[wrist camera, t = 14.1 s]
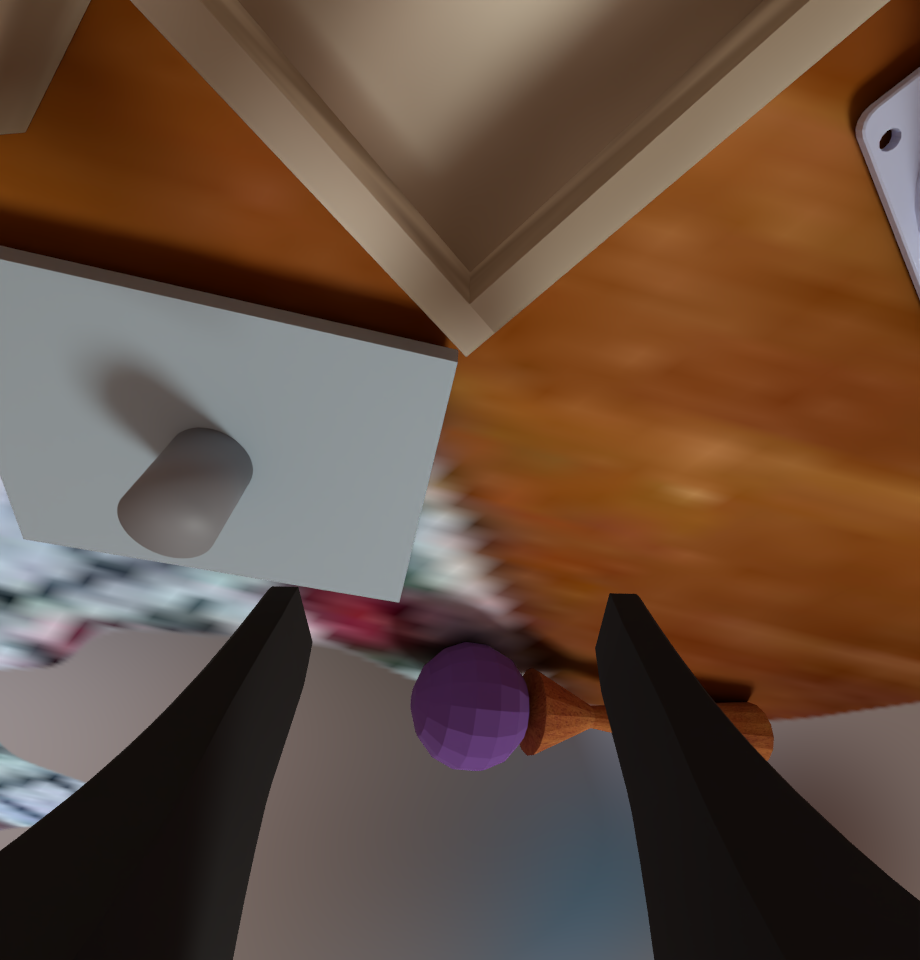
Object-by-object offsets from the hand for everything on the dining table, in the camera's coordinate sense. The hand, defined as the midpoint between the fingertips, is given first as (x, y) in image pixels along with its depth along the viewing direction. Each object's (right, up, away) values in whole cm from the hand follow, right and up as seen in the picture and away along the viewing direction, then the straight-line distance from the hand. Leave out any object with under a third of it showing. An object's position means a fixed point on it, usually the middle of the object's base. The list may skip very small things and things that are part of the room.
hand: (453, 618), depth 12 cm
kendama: (+7, -8, +18) cm, 21 cm away
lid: (-9, +5, +9) cm, 13 cm away
